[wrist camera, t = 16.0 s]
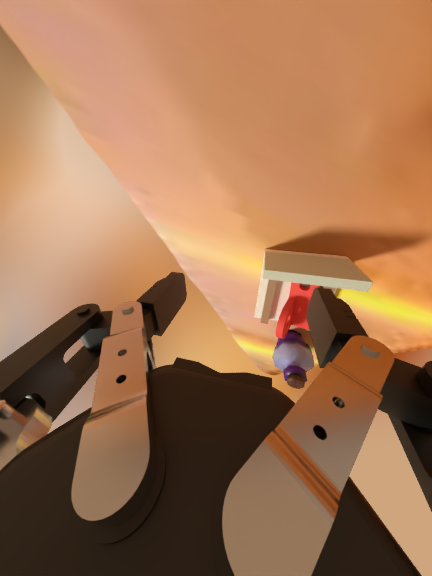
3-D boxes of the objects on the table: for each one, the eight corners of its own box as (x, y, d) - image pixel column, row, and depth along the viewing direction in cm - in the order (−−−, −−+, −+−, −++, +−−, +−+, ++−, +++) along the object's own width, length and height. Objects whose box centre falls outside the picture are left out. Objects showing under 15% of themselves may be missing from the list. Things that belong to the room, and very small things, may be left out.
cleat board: (346, 256, 31) (373, 282, 23) (317, 323, 40) (330, 359, 32) (265, 248, 34) (264, 269, 26) (254, 313, 42) (251, 343, 35)
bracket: (309, 326, 37) (300, 353, 31) (287, 319, 39) (274, 343, 34) (321, 275, 31) (311, 298, 25) (294, 271, 33) (280, 291, 28)
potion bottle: (316, 343, 43) (330, 393, 33) (283, 353, 47) (287, 400, 37) (297, 319, 40) (306, 365, 30) (264, 332, 45) (263, 376, 35)
